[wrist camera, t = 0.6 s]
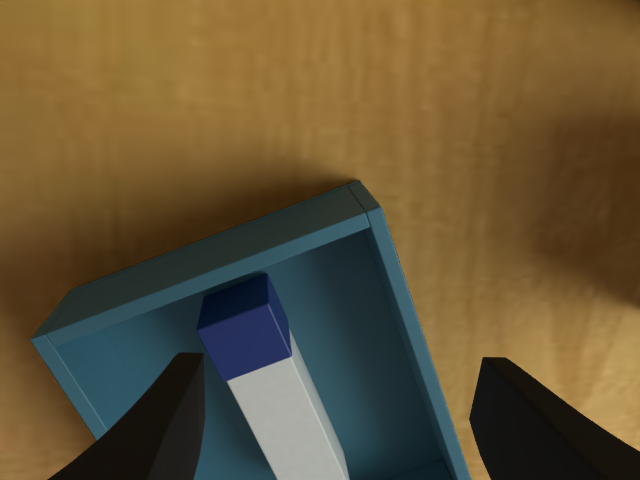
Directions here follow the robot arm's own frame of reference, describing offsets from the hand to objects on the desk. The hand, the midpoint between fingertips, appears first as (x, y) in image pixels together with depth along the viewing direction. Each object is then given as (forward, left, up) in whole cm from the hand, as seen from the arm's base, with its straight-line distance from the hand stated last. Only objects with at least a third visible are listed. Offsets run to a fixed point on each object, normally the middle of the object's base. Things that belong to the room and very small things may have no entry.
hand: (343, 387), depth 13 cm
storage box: (-4, -6, -10) cm, 12 cm away
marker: (-4, -6, -10) cm, 12 cm away
